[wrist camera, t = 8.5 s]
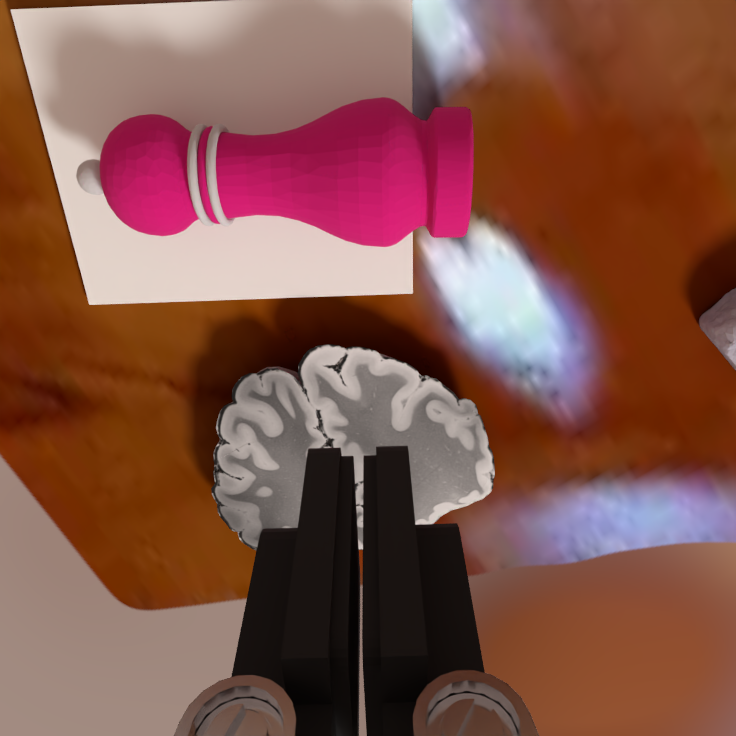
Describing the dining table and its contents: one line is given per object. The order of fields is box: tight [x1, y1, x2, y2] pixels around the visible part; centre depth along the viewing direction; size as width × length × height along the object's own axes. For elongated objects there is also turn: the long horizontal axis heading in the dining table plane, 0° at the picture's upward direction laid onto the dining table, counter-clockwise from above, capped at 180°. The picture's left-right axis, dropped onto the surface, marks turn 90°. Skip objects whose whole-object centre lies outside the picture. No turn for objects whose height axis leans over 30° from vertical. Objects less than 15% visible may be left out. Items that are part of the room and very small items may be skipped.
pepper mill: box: [76, 97, 473, 247], centre depth 33 cm, size 7×7×20 cm
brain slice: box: [211, 344, 495, 550], centre depth 45 cm, size 20×17×3 cm
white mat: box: [10, 0, 413, 305], centre depth 36 cm, size 16×20×1 cm
